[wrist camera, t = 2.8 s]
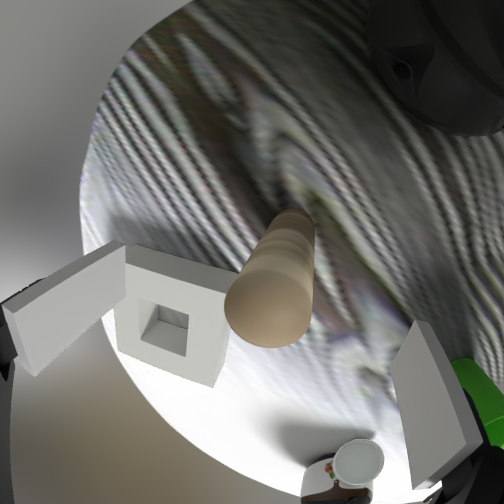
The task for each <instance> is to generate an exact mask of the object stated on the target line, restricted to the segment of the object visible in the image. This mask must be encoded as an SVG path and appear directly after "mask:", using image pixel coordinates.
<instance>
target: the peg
mask: <svg viewBox="0 0 504 504" xmlns="http://www.w3.org/2000/svg"><path fill="white" fill-rule="evenodd" d="M314 246H315V227H314V223H313V221H312V219H311V218H310V216H309V215H308V214H307V213H305V212H304V211H302V210H299V209H293V208H291V209H286V210H283V211H281V212H280V213H278V214H277V215H276V216H275V218H274V219H273V221H272V222H271V224H270V226H269V227H268V229H267V230H266V232H265V233H264V235H263V237H262V238H261V240H260V241H259V243H258V244H257V246H256V248H255V249H254V251H253V252H252V254H251V255H250V257H249V259H248V260H247V262H246V263H245V265H244V267H243V268H242V270H241V271H240V273H239V274H238V276H237V278H236V279H235V281H234V282H233V284H232V285H231V287H230V289H229V290H228V292H227V294H226V297H225V301H224V312H225V317H226V319H227V322H228V324H229V325H230V327H231V328H232V330H233V331H234V332H235V333H236V334H237V335H238V336H239V337H240V338H242V339H243V340H245V341H247V342H248V343H251V344H253V345H256V346H259V347H264V348H279V347H284V346H287V345H290V344H292V343H294V342H295V341H297V340H298V339H299V338H301V337H302V336H303V334H304V333H305V332H306V330H307V329H308V327H309V325H310V321H311V315H312V298H313V276H314Z"/></svg>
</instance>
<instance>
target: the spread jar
mask: <svg viewBox="0 0 504 504" xmlns="http://www.w3.org/2000/svg"><path fill="white" fill-rule="evenodd" d="M383 465H384V454H383V451H382V449H381V448H380V446H379V445H378V444H376V443H375V442H373V441H371V440H369V439H355V440H352V441H349V442H348V443H346V444H345V445H343V446H342V447H341V448H340V449H339V450H338V451H337V453H333V454H329V455H326V456H323V457H321V458H319V459H317V460H315V461H314V462H313V463H311V464H310V465H309V466H308V467H307V469H306V471H305V473H304V476H303V481H302V488H301V504H370V503H371V501H372V497H373V479H375V478H376V477H377V476H378V475H379V473H380V472H381V470H382V468H383Z"/></svg>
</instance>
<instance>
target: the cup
mask: <svg viewBox="0 0 504 504" xmlns="http://www.w3.org/2000/svg"><path fill="white" fill-rule="evenodd" d="M450 364H451V366H452V368H453V370H454V372H455V374H456V376H457V379H458V381H459V383H460V385H461V387H462V388H465V390H466V391H467V392H468V393H469V394H470V396H471V397H472V399H473V401H474V403H475V406H476V409H477V410H478V413H479V417H480V418H481V420H482V423H483V425H484V428H485V430H486V433H487V435H488V438H489V441H490V444H491V446H494V445H496V446H499V447H501V448H502V449H503V448H504V395H503V394H502V392H501V391H500V390H499V389H498V388H497V386H496V385H495V384H494V383H493V382H492V380H491V379H490V378H489V377H488V376H487V375H486V374H485V372H484V371H483V370H482V369H481V368H480V367H479V366H478V364H477V363H476V362H475V361H474V360H472V359H470V358H460V359H457V360H455V361H453V362H452V363H450Z"/></svg>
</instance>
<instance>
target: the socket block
mask: <svg viewBox="0 0 504 504" xmlns="http://www.w3.org/2000/svg"><path fill="white" fill-rule="evenodd" d="M238 274H239V273H235V272H232V271H228V270H224V269H221V268H217V267H213V266H210V265H206V264H202V263H199V262H195V261H192V260H188V259H185V258H181V257H177V256H174V255H170V254H167V253H163V252H160V251H156V250H153V249H149V248H146V247H143V246H139V245H136V244H135V245H133V246H132V247H130V248H128V249H126V250H125V286H126V297H125V298H123V299H122V300H121V301H120V302H119V303H117V304H116V305H115V306H114V317H115V328H116V338H117V347H118V351H120V352H122V353H124V354H127V355H129V356H131V357H133V358H136V359H138V360H140V361H142V362H145V363H147V364H150V365H152V366H154V367H157V368H159V369H162V370H164V371H167V372H170V373H172V374H175V375H178V376H180V377H183V378H186V379H189V380H191V381H194V382H197V383H200V384H203V385H206V386H209V387H212V388H213V386H214V384H215V382H216V380H217V378H218V376H219V373H220V371H221V369H222V367H223V365H224V362H225V356H226V351H227V345H228V340H229V335H230V329H231V327H230V325H229V324H228V322H227V319H226V317H225V312H224V301H225V297H226V294H227V292H228V290H229V289H230V287H231V285H232V284H233V282H234V281H235V279H236V278H237V276H238ZM158 304H159V305H161V306H164V307H167V308H170V309H173V310H176V311H179V312H182V313H185V314H188V315H189V323H188V330H187V329H184V328H181V327H178V326H175V325H172V324H169V323H166V322H164V321H161V320H158Z"/></svg>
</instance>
